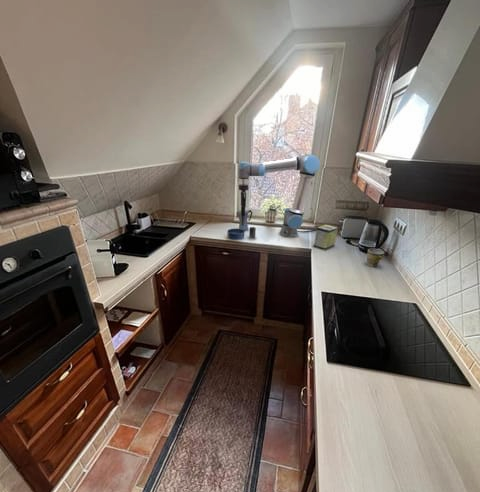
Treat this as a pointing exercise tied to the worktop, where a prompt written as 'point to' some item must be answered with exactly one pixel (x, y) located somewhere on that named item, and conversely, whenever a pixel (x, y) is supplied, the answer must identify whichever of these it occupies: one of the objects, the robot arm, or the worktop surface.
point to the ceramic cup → (374, 257)
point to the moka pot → (244, 220)
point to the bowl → (235, 234)
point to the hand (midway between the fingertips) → (243, 215)
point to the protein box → (325, 236)
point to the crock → (252, 232)
